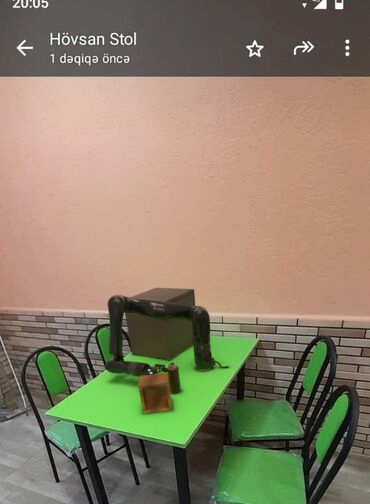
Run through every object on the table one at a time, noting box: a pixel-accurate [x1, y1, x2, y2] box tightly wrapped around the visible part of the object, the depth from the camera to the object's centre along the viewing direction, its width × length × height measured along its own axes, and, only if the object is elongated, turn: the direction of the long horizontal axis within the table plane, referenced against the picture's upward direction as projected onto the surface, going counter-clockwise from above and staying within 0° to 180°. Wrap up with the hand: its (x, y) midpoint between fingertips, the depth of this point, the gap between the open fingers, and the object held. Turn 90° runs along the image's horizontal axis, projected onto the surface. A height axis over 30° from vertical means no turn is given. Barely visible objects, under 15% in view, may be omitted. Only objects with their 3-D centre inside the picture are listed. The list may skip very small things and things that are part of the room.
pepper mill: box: [166, 361, 182, 395], centre depth 161 cm, size 5×5×15 cm
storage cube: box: [124, 287, 196, 361], centre depth 210 cm, size 34×29×34 cm
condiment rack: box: [138, 372, 173, 414], centre depth 150 cm, size 13×10×14 cm
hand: (165, 374), depth 163 cm, fingers open, 8 cm apart
